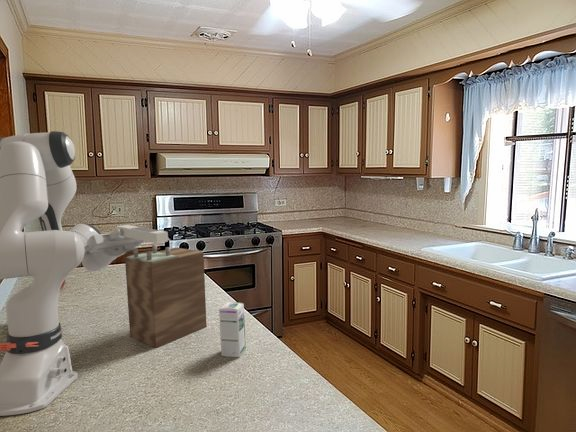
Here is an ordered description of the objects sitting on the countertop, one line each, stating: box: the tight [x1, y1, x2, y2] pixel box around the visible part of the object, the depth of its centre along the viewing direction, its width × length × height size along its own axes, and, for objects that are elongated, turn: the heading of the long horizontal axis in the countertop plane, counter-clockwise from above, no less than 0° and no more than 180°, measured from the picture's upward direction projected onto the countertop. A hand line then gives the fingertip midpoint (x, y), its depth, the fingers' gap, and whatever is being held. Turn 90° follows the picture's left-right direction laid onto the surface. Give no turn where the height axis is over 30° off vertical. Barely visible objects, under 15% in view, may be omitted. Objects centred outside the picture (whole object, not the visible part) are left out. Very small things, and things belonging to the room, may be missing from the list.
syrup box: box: [218, 301, 247, 358], centre depth 122 cm, size 6×6×14 cm
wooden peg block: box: [124, 244, 208, 349], centre depth 137 cm, size 14×20×29 cm
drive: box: [116, 224, 169, 244], centre depth 135 cm, size 22×4×3 cm, turn 53°
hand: (128, 229), depth 139 cm, fingers closed on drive, 4 cm apart
